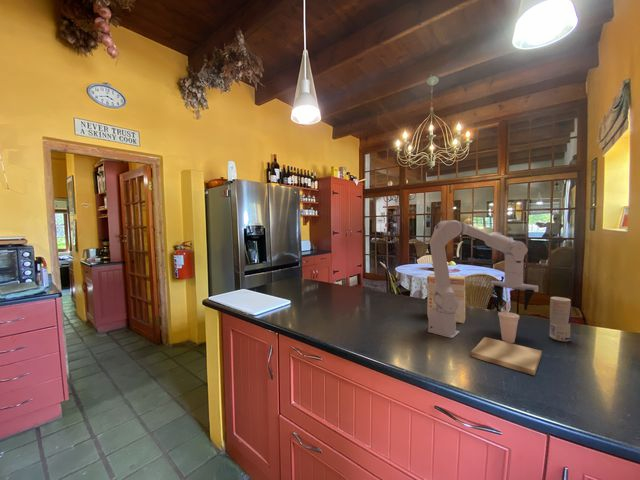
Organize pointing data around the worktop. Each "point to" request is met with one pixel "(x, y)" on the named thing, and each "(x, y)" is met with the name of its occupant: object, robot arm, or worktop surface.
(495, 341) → the base board
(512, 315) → the smoothie
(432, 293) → the coffeecake box
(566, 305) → the beverage can
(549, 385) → the worktop surface
